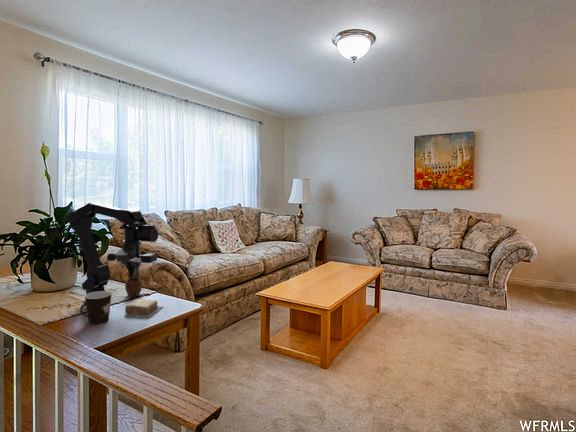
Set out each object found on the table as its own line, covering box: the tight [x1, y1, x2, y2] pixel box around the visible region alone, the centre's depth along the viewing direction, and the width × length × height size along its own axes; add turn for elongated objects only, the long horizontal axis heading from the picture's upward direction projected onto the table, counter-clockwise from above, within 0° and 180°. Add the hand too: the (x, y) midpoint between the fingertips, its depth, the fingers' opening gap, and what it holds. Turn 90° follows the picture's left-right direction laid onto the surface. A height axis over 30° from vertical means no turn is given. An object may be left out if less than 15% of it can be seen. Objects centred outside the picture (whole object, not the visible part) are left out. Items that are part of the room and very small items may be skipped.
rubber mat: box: [124, 305, 164, 319], centre depth 138 cm, size 10×11×1 cm
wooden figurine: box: [124, 269, 143, 297], centre depth 157 cm, size 7×6×15 cm
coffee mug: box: [79, 290, 112, 326], centre depth 126 cm, size 12×9×10 cm
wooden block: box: [124, 298, 158, 315], centre depth 138 cm, size 3×8×9 cm
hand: (132, 277), depth 143 cm, fingers closed
